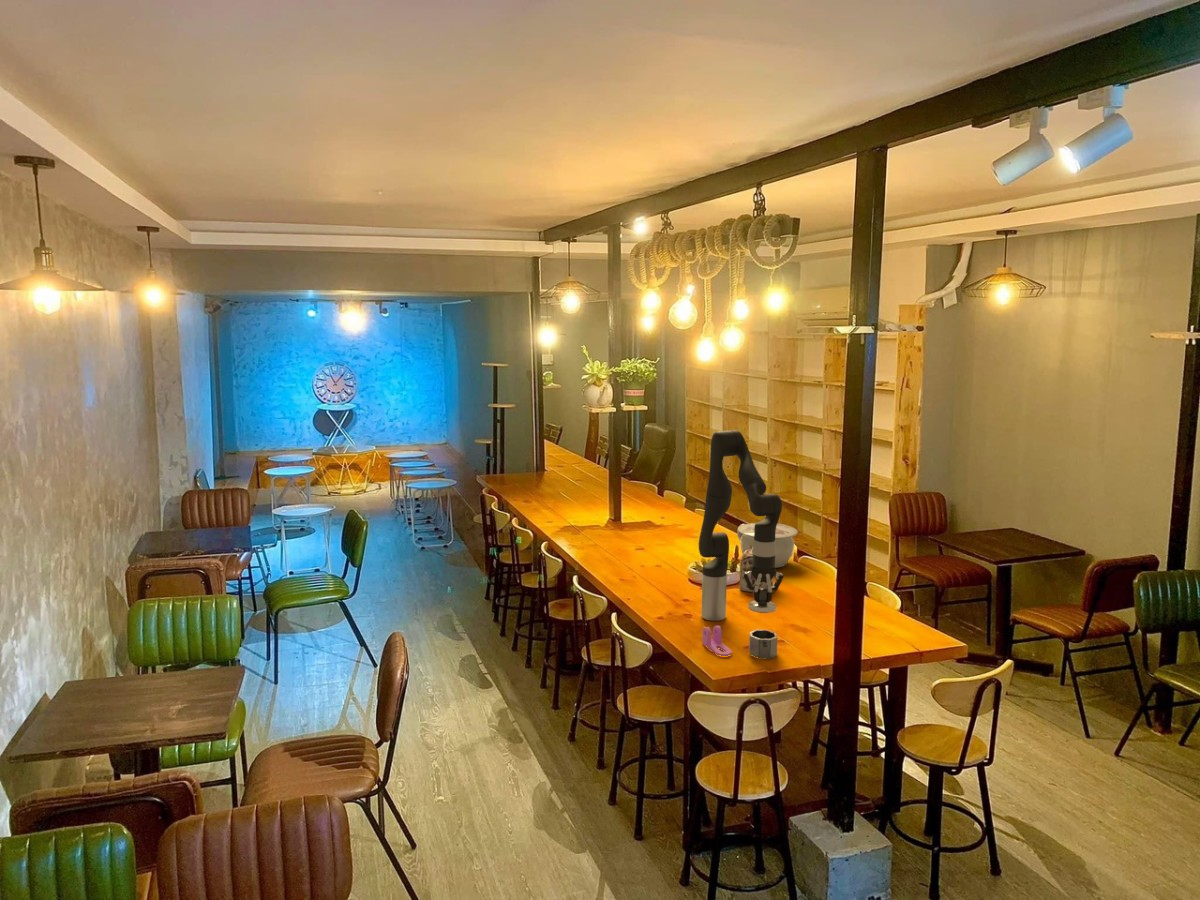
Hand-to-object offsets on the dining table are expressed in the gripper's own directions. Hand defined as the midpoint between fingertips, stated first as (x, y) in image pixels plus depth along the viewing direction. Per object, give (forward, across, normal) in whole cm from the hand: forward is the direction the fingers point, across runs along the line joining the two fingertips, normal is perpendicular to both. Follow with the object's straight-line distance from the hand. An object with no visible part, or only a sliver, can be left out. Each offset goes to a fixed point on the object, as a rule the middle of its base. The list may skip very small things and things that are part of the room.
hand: (762, 601), depth 281 cm
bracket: (+19, +14, -2) cm, 24 cm away
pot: (+19, -1, 0) cm, 19 cm away
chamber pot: (+20, -12, -104) cm, 107 cm away
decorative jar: (+20, -5, -69) cm, 72 cm away
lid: (+2, 0, 0) cm, 2 cm away
